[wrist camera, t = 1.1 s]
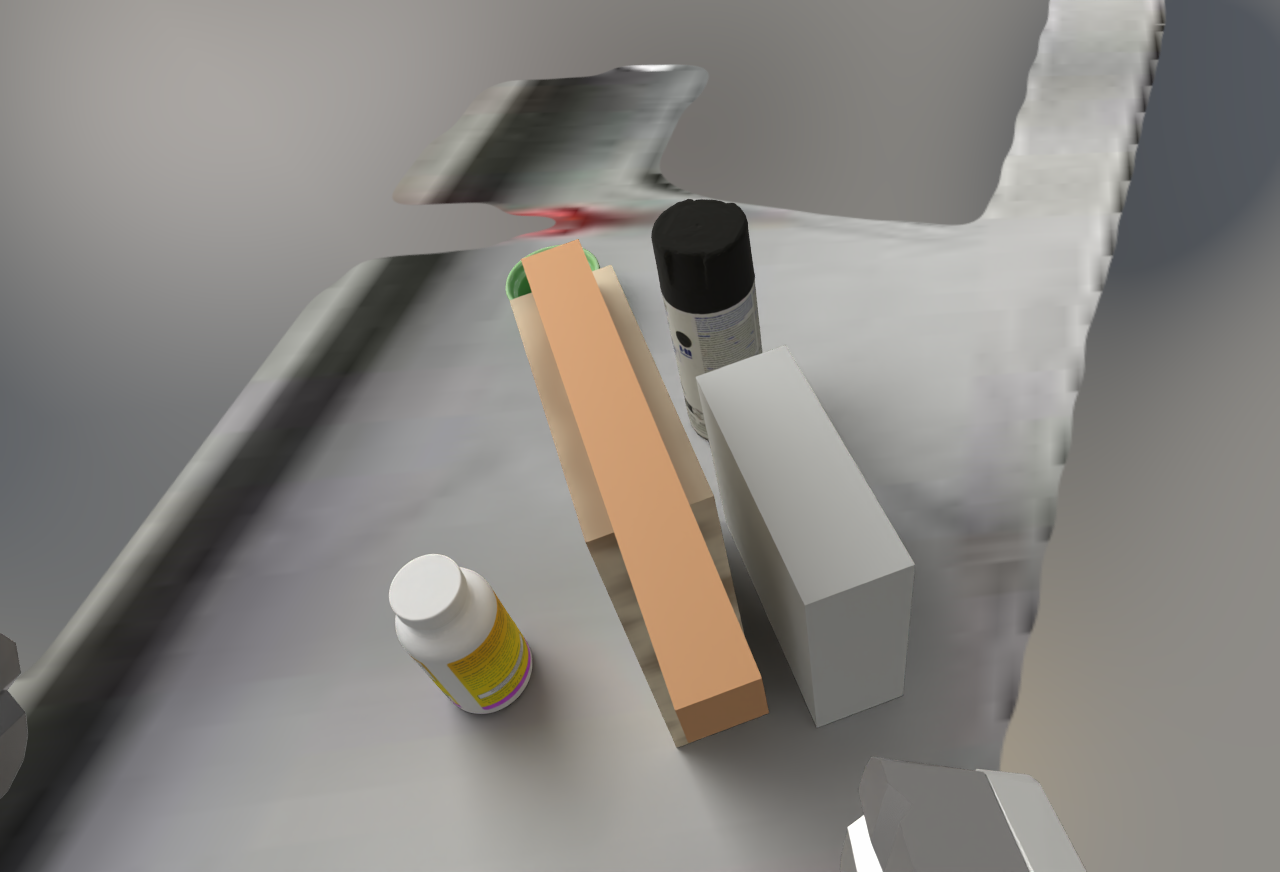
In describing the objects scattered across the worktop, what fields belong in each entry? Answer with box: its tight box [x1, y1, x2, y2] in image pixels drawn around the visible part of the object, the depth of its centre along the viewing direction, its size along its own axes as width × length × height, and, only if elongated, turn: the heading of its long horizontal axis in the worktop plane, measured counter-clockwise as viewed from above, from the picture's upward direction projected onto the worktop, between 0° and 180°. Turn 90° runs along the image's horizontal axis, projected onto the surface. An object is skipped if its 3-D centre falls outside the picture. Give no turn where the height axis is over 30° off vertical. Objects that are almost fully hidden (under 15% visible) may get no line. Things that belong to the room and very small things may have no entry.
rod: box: [521, 239, 769, 743], centre depth 41 cm, size 3×26×3 cm, turn 17°
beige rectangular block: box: [510, 265, 761, 748], centre depth 56 cm, size 6×17×26 cm, turn 17°
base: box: [696, 345, 915, 728], centre depth 59 cm, size 6×17×17 cm, turn 17°
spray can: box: [651, 199, 762, 440], centre depth 69 cm, size 7×7×20 cm
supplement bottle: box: [389, 554, 532, 714], centre depth 62 cm, size 7×7×13 cm
